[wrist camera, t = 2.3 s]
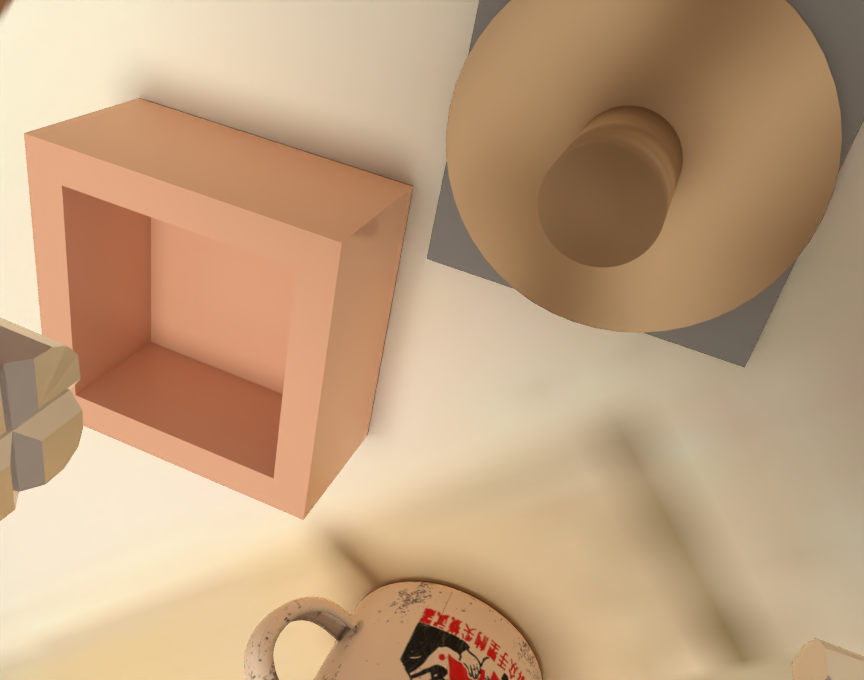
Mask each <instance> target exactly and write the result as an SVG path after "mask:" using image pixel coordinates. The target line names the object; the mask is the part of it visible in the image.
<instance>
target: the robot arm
mask: <svg viewBox="0 0 864 680" xmlns="http://www.w3.org/2000/svg"><path fill="white" fill-rule="evenodd" d="M80 379H81V378H80V369H79V359H78V354H77V353H75V352H74V351H73V350H72V349H70V348H69V347H68V346H66V345H64V344H61V343H59V342H57V341H54V340H52V339H50V338H47V337H45V336H42V335H40V334H38V333H35V332H33V331H31V330H28V329H26V328H24V327H21V326H19V325H16V324H14V323H12V322H9V321H7V320H5V319H2V318H0V521H1V520H2V519H4V518H5V517H6V516H7V515H8V514H10V513H11V512H12V511H13V510H15V507H16V502H17V498H18V493H19V491H23V490H27V489H30V488H34V487H38V486H41V485H45V484H46V483H48V482H49V481H50V480H51V479H52V478H53V477H55V476H56V475H57V474H58V473H59V472H60V471H62V470H63V469H64V468H65V466H66V465H67V463H68V462H69V460H70V458H71V457H72V455H73V454H74V452H75V451H76V449H77V447H78V445H79V441H80V437H81V433H82V429H83V413H82V409H81V407H80V405H79V404H78V402H77V400H76V399H75V397H74V395H73V394H72V392H71V390H70V389H71V388H72V387H73V386H74V385H75V384H76V383H77V382H78V381H79V380H80ZM792 673H793V680H864V656H861V655H858V654H856V653H853V652H850V651H848V650H845V649H843V648H840V647H837V646H835V645H832V644H830V643H827V642H824V641H822V640H819V639H816V638H814V639H813V640H811V641H810V642H808V643H807V644H805V645H804V646H803V648H802V649H801V650H800V652H799V653H798V655H797V656H796V657H795V659H794V660H793V662H792Z"/></svg>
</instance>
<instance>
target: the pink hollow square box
mask: <svg viewBox="0 0 864 680" xmlns="http://www.w3.org/2000/svg"><path fill="white" fill-rule="evenodd" d="M24 137H25V148H26V160H27V171H28V182H29V193H30V205H31V216H32V227H33V238H34V249H35V261H36V272H37V283H38V294H39V306H40V317H41V328H42V336H45V337H47V338H50V339H52V340H54V341H57V342H59V343H61V344H64V345H66V346H68V347H69V348H70V349H72V350H73V351H74V352H75V353H77V354H78V359H79V369H80V378H81V379H80V380H79V381H78V382H77V383H76V384H75V385H74V386H73V387H72V388H71V389H70V390H71V392H72V394H73V395H74V397H75V399H76V400H77V402H78V404H79V405H80V407H81V409H82V413H83V425H84V426H86V427H88V428H91V429H93V430H95V431H98V432H100V433H102V434H105V435H107V436H109V437H112V438H114V439H116V440H119V441H121V442H123V443H126V444H128V445H130V446H133V447H135V448H137V449H140V450H142V451H144V452H147V453H149V454H151V455H154V456H156V457H158V458H161V459H163V460H165V461H168V462H170V463H172V464H174V465H177V466H179V467H181V468H184V469H186V470H188V471H191V472H193V473H195V474H198V475H200V476H202V477H205V478H207V479H209V480H212V481H214V482H216V483H219V484H221V485H223V486H226V487H228V488H230V489H233V490H235V491H237V492H240V493H242V494H244V495H247V496H249V497H251V498H254V499H256V500H258V501H261V502H263V503H265V504H268V505H270V506H272V507H275V508H277V509H279V510H282V511H284V512H286V513H289V514H291V515H293V516H296V517H298V518H300V519H303V520H304V518H305V517H306V516H307V514H308V513H309V512H310V510H311V509H312V508H313V506H314V505H315V504H316V502H317V501H318V500H319V498H320V497H321V496H322V495H323V493H324V492H325V491H326V489H327V488H328V487H329V485H330V484H331V483H332V481H333V480H334V479H335V477H336V476H337V475H338V473H339V472H340V471H341V469H342V468H343V467H344V465H345V464H346V463H347V461H348V460H349V459H350V458H351V456H352V455H353V454H354V452H355V451H356V450H357V448H358V447H359V446H360V444H361V443H362V442H363V440H364V439H365V438H366V436H367V435H368V429H369V424H370V418H371V413H372V407H373V402H374V397H375V391H376V386H377V380H378V375H379V369H380V364H381V359H382V353H383V348H384V342H385V337H386V331H387V326H388V321H389V315H390V310H391V304H392V299H393V293H394V288H395V283H396V277H397V272H398V266H399V261H400V255H401V250H402V245H403V239H404V234H405V228H406V223H407V217H408V212H409V207H410V201H411V196H412V190H413V186H410V185H407V184H404V183H401V182H398V181H394V180H391V179H388V178H385V177H382V176H379V175H376V174H373V173H370V172H366V171H363V170H360V169H357V168H354V167H351V166H348V165H345V164H342V163H339V162H335V161H332V160H329V159H326V158H323V157H320V156H317V155H314V154H311V153H308V152H304V151H301V150H298V149H295V148H292V147H289V146H286V145H283V144H280V143H276V142H273V141H270V140H267V139H264V138H261V137H258V136H255V135H252V134H249V133H245V132H242V131H239V130H236V129H233V128H230V127H227V126H224V125H221V124H218V123H214V122H211V121H208V120H205V119H202V118H199V117H196V116H193V115H190V114H186V113H183V112H180V111H177V110H174V109H171V108H168V107H165V106H162V105H159V104H155V103H152V102H149V101H146V100H143V99H140V98H138V99H135V100H132V101H129V102H125V103H122V104H119V105H115V106H112V107H109V108H105V109H102V110H99V111H96V112H92V113H89V114H86V115H82V116H79V117H76V118H73V119H69V120H66V121H63V122H59V123H56V124H53V125H50V126H46V127H43V128H40V129H36V130H33V131H30V132H27V133H24Z"/></svg>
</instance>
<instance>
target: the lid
mask: <svg viewBox="0 0 864 680" xmlns="http://www.w3.org/2000/svg"><path fill="white" fill-rule="evenodd" d="M841 144H842V131H841V112H840V107H839V102H838V96H837V91H836V86H835V83H834V80H833V77H832V75H831V72H830V69H829V66H828V63H827V61H826V58H825V55H824V53H823V51H822V49H821V47H820V45H819V44H818V42H817V40H816V38H815V36H814V34H813V33H812V31H811V29H810V28H809V26H808V25H807V24H806V22H805V21H804V20H803V19H802V17H801V16H800V15H799V13H798V12H797V11H796V9H795V8H794V7H793V6H792V5H791V4H790V3H789V2H788V1H787V0H511V1H510V2H509V3H508V4H507V5H506V6H505V7H504V8H503V9H502V10H501V11H500V12H499V13H498V14H497V15H496V16H495V17H494V18H493V19H492V21H491V22H490V23H489V25H488V26H487V27H486V29H485V30H484V31H483V33H482V34H481V35H480V37H479V38H478V40H477V41H476V43H475V45H474V47H473V48H472V50H471V52H470V54H469V55H468V57H467V59H466V61H465V63H464V66H463V68H462V70H461V73H460V75H459V78H458V80H457V83H456V86H455V90H454V93H453V97H452V101H451V104H450V109H449V116H448V124H447V134H446V156H447V165H448V174H449V180H450V184H451V188H452V192H453V196H454V200H455V203H456V205H457V208H458V211H459V213H460V216H461V219H462V221H463V223H464V225H465V227H466V229H467V231H468V233H469V235H470V237H471V238H472V240H473V242H474V243H475V245H476V246H477V248H478V249H479V251H480V252H481V253H482V255H483V256H484V258H485V259H486V260H487V261H488V263H489V264H490V265H491V266H492V267H493V268H494V269H495V271H496V272H497V273H498V274H499V275H500V276H501V277H502V278H503V279H504V280H505V281H507V282H508V283H509V284H510V285H511V286H512V287H513V288H514V289H515V290H517V291H518V292H520V293H521V294H522V295H524V296H525V297H527V298H528V299H529V300H531V301H532V302H534V303H535V304H537V305H539V306H541V307H543V308H544V309H546V310H548V311H550V312H552V313H554V314H556V315H559V316H561V317H563V318H566V319H568V320H571V321H573V322H576V323H580V324H583V325H587V326H591V327H594V328H599V329H605V330H612V331H618V332H638V333H643V332H657V331H667V330H673V329H678V328H683V327H688V326H692V325H695V324H698V323H701V322H705V321H708V320H711V319H713V318H716V317H718V316H720V315H722V314H724V313H727V312H729V311H731V310H733V309H735V308H737V307H738V306H740V305H742V304H744V303H745V302H747V301H749V300H750V299H752V298H754V297H755V296H756V295H758V294H759V293H760V292H762V291H763V290H764V289H765V288H767V287H768V286H769V285H771V284H772V283H773V282H774V281H776V280H777V279H778V278H779V277H780V275H781V274H782V273H783V272H784V271H785V270H786V269H787V268H788V267H789V266H790V265H791V264H792V263H793V262H794V261H795V260H796V258H797V257H798V256H799V255H800V253H801V252H802V251H803V249H804V248H805V247H806V245H807V244H808V243H809V241H810V240H811V238H812V236H813V234H814V233H815V231H816V229H817V227H818V226H819V224H820V222H821V220H822V219H823V216H824V214H825V211H826V209H827V206H828V204H829V201H830V199H831V196H832V194H833V190H834V186H835V182H836V178H837V174H838V170H839V164H840V154H841Z"/></svg>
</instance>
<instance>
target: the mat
mask: <svg viewBox="0 0 864 680" xmlns="http://www.w3.org/2000/svg"><path fill="white" fill-rule="evenodd" d="M510 1H511V0H479V5H478V10H477V15H476V20H475V25H474V30H473V35H472V39H471V44H470V49H469V54H470V52H471V50H472V48H473V47H474V45H475V43H476V41H477V40H478V38H479V37H480V35H481V34H482V33H483V31H484V30H485V29H486V27H487V26H488V25H489V23H490V22H491V21H492V19H493V18H494V17H495V16H496V15H497V14H498V13H499V12H500V11H501V10H502V9H503V8H504V7H505V6H506V5H507V4H508V3H509V2H510ZM787 1H788V2H789V3H790V4H791V5H792V6H793V7H794V8H795V9H796V11H797V12H798V13H799V15H800V16H801V17H802V19H803V20H804V21H805V22H806V24H807V25H808V26H809V28H810V29H811V31H812V33H813V34H814V36H815V38H816V40H817V42H818V44H819V45H820V47H821V49H822V51H823V53H824V55H825V58H826V61H827V63H828V66H829V69H830V72H831V75H832V77H833V80H834V83H835V86H836V91H837V96H838V102H839V107H840V112H841V131H842V144H841V154H840V164H839V170H840V168H841V166H842V164H843V162H844V159H845V157H846V155H847V153H848V151H849V149H850V147H851V145H852V143H853V141H854V139H855V137H856V135H857V132H858V130H859V128H860V126H861V124H862V122H863V120H864V0H787ZM469 54H468V55H469ZM839 170H838V172H839ZM427 259H429V260H432V261H435V262H438V263H441V264H444V265H447V266H449V267H452V268H455V269H458V270H461V271H464V272H467V273H470V274H473V275H476V276H479V277H482V278H485V279H488V280H490V281H493V282H496V283H499V284H502V285H505V286H508V287H511V288H513V287H512V286H511V285H510V284H509V283H508V282H507V281H505V280H504V279H503V278H502V277H501V276H500V275H499V274H498V273H497V272H496V271H495V269H494V268H493V267H492V266H491V265H490V264H489V263H488V261H487V260H486V259H485V258H484V256H483V255H482V253H481V252H480V251H479V249H478V248H477V246H476V245H475V243H474V242H473V240H472V238H471V237H470V235H469V233H468V231H467V229H466V227H465V225H464V223H463V221H462V219H461V216H460V213H459V211H458V208H457V205H456V203H455V200H454V196H453V192H452V188H451V184H450V180H449V174H448V165H447V162H446V167H445V172H444V177H443V181H442V186H441V191H440V196H439V201H438V206H437V211H436V216H435V221H434V225H433V230H432V235H431V240H430V245H429V250H428V255H427ZM796 259H797V258H796ZM795 261H796V260H795ZM795 261H794V262H793V263H792V264H791V265H790V266H789V267H788V268H787V269H786V270H785V271H784V272H783V273H782V274H781V275H780V277H779V278H778V279H777V280H776V281H774V282H773V283H772V284H771V285H769V286H768V287H767V288H765V289H764V290H763V291H762V292H760V293H759V294H758V295H756V296H755V297H754V298H752V299H750V300H749V301H747V302H745V303H744V304H742V305H740V306H738V307H737V308H735V309H733V310H731V311H729V312H727V313H724V314H722V315H720V316H718V317H716V318H713V319H711V320H708V321H705V322H701V323H698V324H695V325H692V326H688V327H683V328H678V329H673V330H667V331H657V332H643V333H646V334H649V335H652V336H655V337H658V338H660V339H663V340H666V341H669V342H672V343H675V344H678V345H681V346H684V347H687V348H690V349H693V350H696V351H699V352H701V353H704V354H707V355H710V356H713V357H716V358H719V359H722V360H725V361H728V362H731V363H734V364H737V365H740V366H743V367H745V365H746V363H747V361H748V359H749V357H750V355H751V353H752V351H753V348H754V346H755V344H756V342H757V340H758V338H759V336H760V334H761V332H762V330H763V328H764V326H765V324H766V321H767V319H768V317H769V315H770V313H771V311H772V309H773V307H774V305H775V303H776V301H777V299H778V297H779V294H780V292H781V290H782V288H783V286H784V284H785V282H786V280H787V278H788V276H789V274H790V272H791V270H792V267H793V265H794V263H795Z"/></svg>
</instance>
